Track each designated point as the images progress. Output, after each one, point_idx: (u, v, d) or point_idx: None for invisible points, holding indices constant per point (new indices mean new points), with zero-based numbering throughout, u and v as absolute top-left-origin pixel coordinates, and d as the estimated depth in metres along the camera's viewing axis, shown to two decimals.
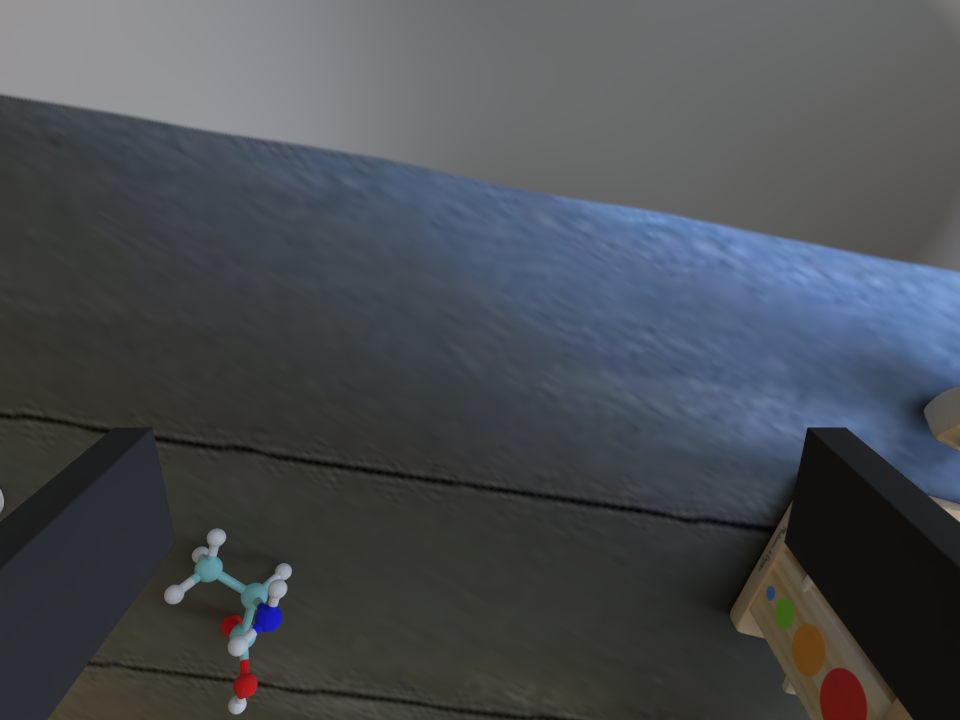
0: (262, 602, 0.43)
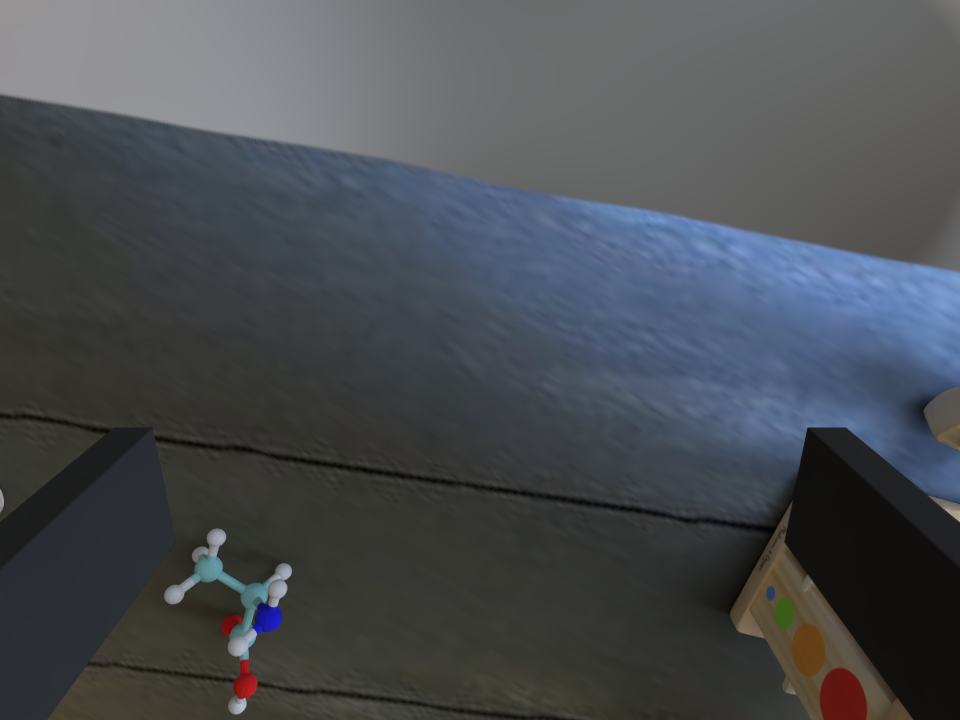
0: (262, 602, 0.43)
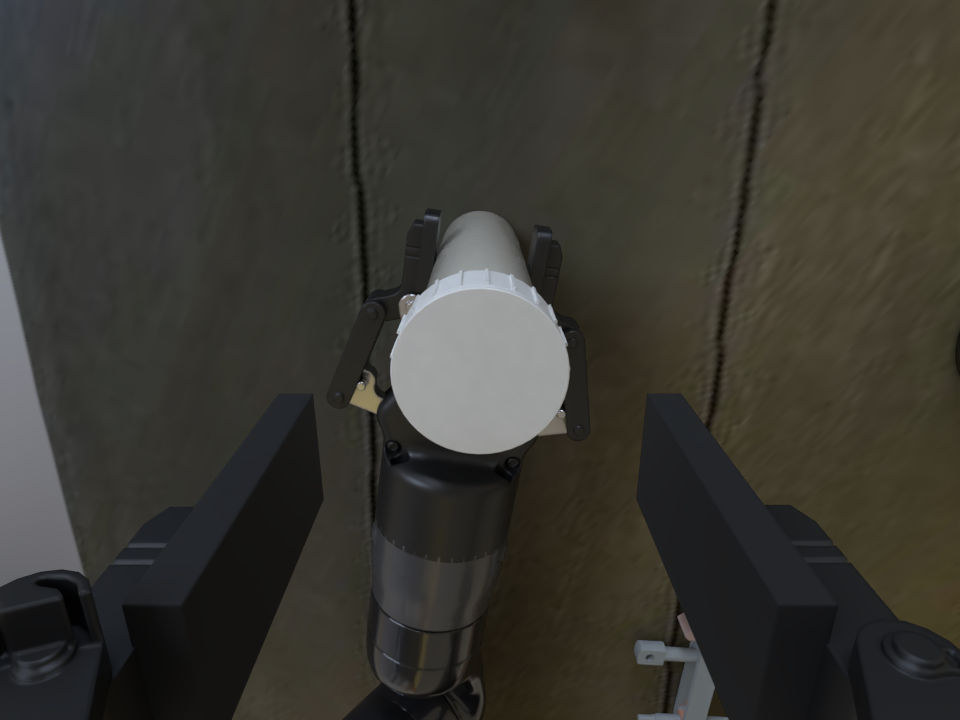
0: None
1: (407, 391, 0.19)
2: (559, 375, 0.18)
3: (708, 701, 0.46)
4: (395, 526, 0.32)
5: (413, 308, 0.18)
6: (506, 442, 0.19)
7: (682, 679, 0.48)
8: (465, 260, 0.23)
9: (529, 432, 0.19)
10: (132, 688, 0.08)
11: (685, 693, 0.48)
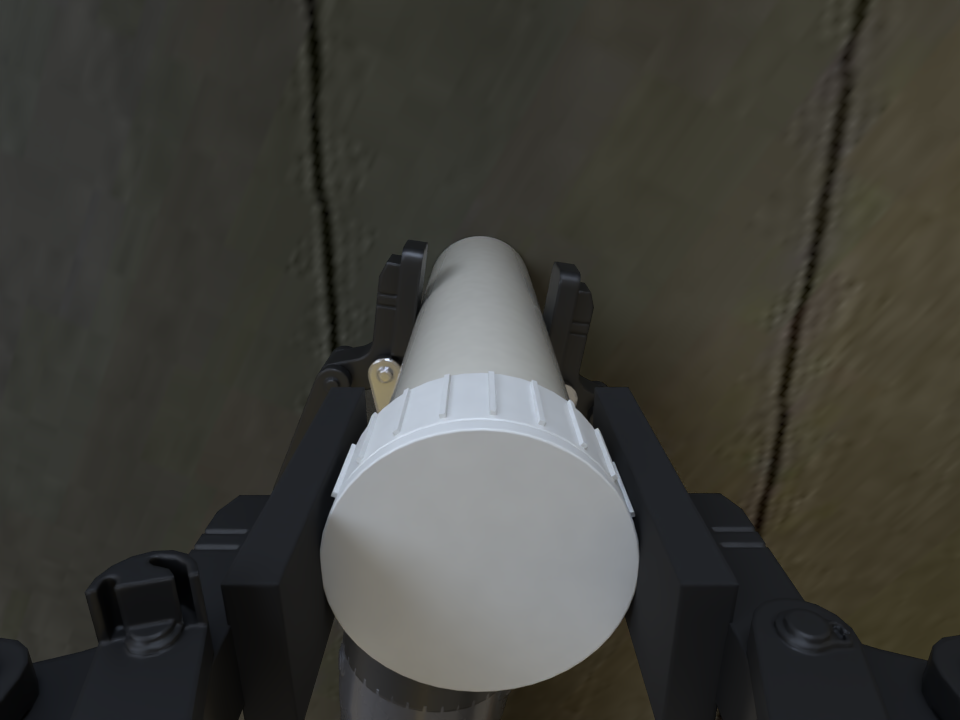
0: None
1: (351, 597, 0.10)
2: (621, 572, 0.10)
3: None
4: (366, 662, 0.24)
5: (360, 454, 0.10)
6: (525, 675, 0.11)
7: None
8: (457, 334, 0.15)
9: (565, 659, 0.11)
10: (228, 665, 0.08)
11: None
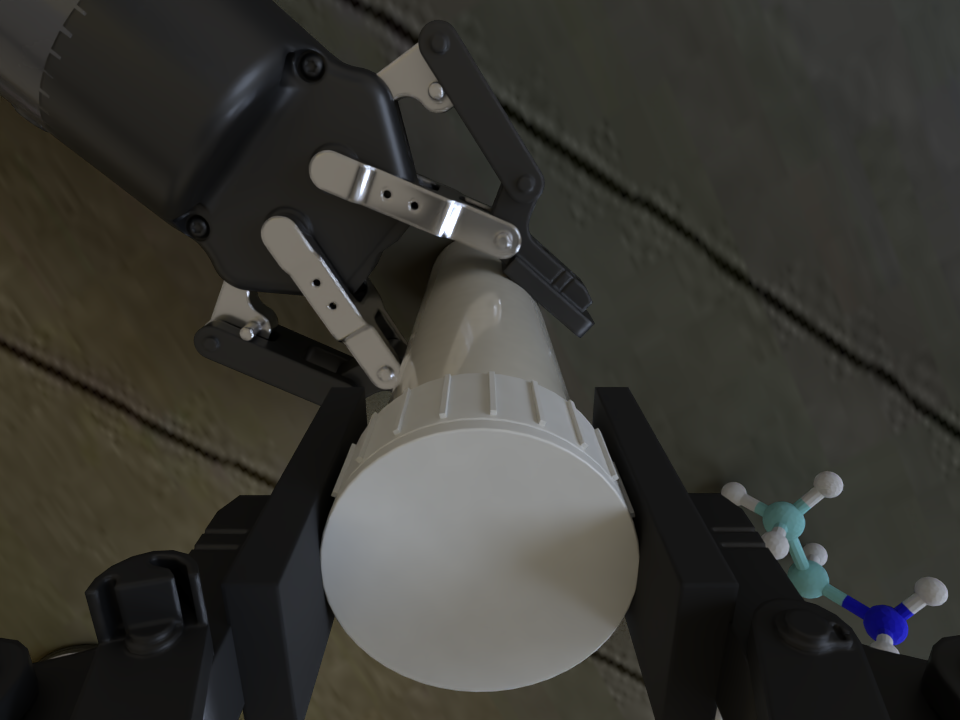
0: (847, 595, 0.30)
1: (350, 597, 0.10)
2: (621, 572, 0.10)
3: None
4: None
5: (360, 454, 0.10)
6: (525, 675, 0.11)
7: None
8: None
9: (565, 659, 0.11)
10: (228, 664, 0.08)
11: None
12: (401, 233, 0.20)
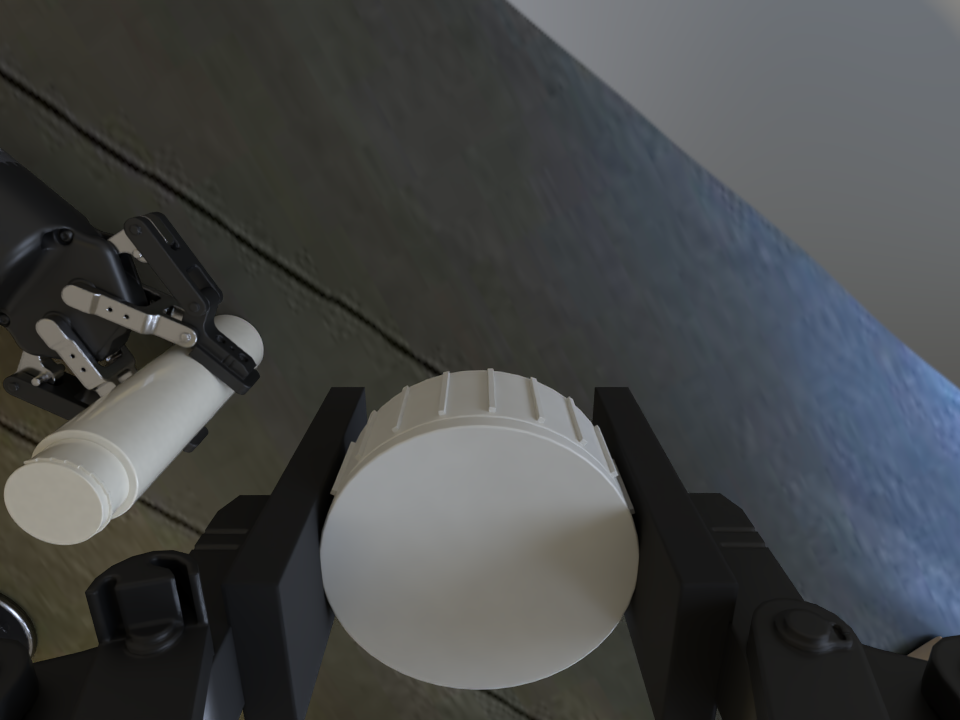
0: None
1: (350, 595, 0.10)
2: (621, 569, 0.10)
3: None
4: None
5: (359, 452, 0.10)
6: (525, 672, 0.11)
7: None
8: (171, 457, 0.30)
9: (565, 657, 0.11)
10: (229, 664, 0.08)
11: None
12: (125, 329, 0.34)
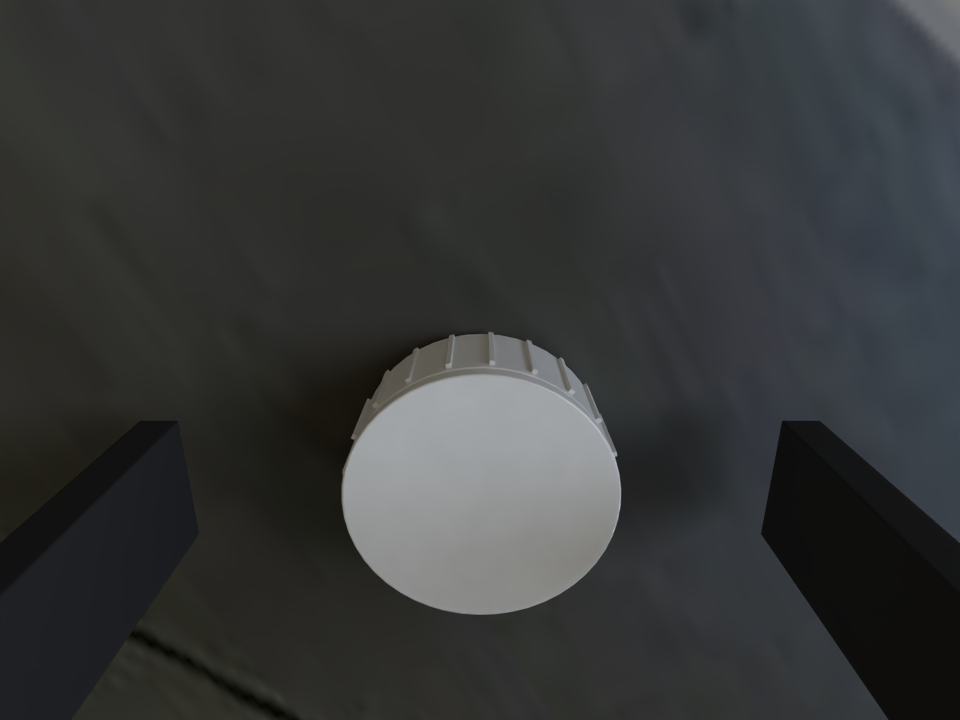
0: None
1: (368, 527, 0.12)
2: (605, 504, 0.12)
3: None
4: None
5: (376, 401, 0.12)
6: (521, 598, 0.13)
7: None
8: None
9: (557, 584, 0.12)
10: None
11: None
12: None
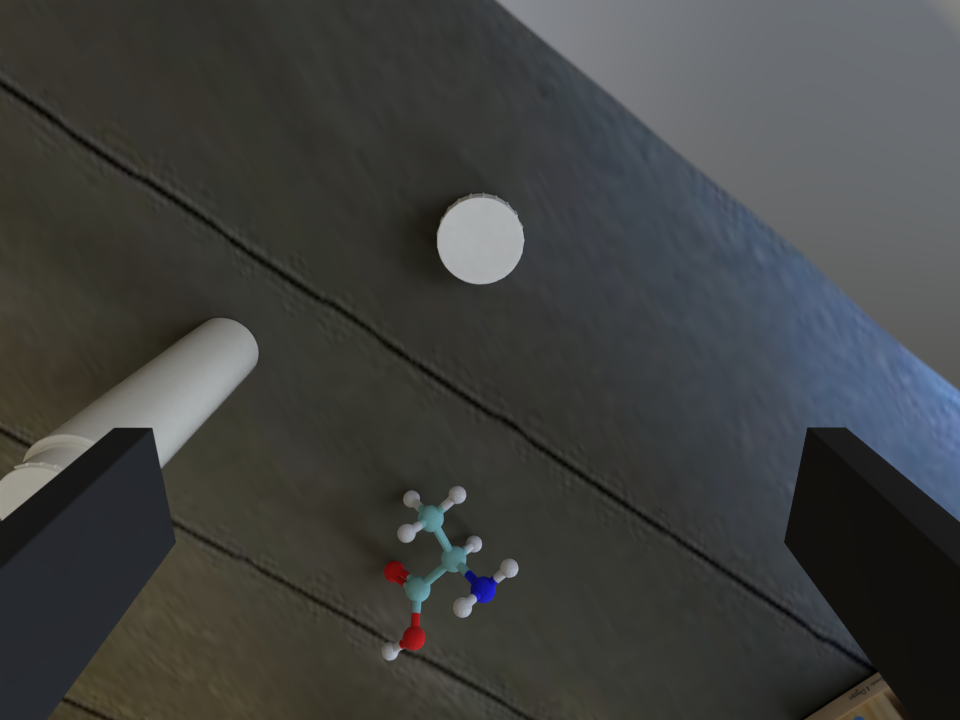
0: (470, 570, 0.44)
1: (445, 250, 0.38)
2: (518, 241, 0.38)
3: None
4: None
5: (448, 209, 0.38)
6: (493, 277, 0.39)
7: None
8: (163, 461, 0.30)
9: (504, 272, 0.39)
10: None
11: None
12: None
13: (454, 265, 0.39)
